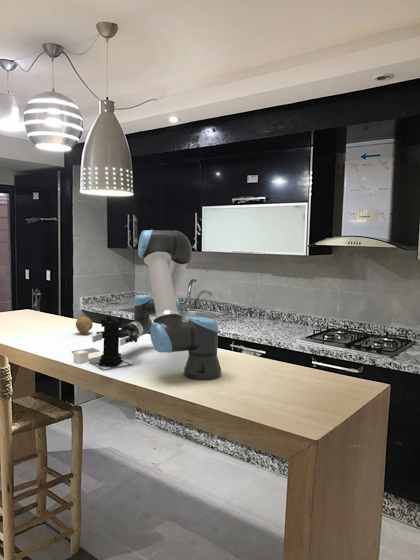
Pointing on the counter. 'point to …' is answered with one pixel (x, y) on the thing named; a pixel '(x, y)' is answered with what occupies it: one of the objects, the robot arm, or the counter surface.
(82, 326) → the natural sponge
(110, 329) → the chess piece
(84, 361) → the die
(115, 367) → the grey flat square frame
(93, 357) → the track
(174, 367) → the counter surface
